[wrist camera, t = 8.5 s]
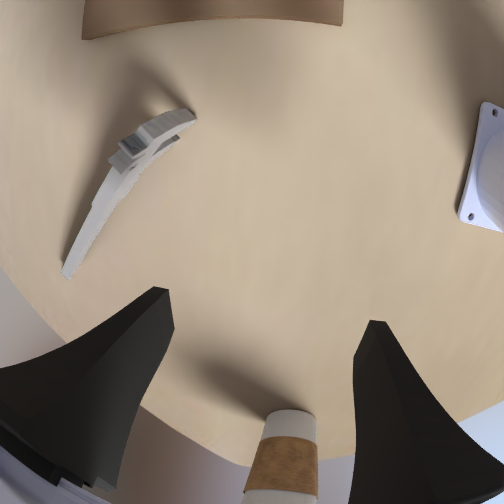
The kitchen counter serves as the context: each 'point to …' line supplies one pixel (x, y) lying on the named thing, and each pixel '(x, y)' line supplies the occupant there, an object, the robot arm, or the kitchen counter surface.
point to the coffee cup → (285, 461)
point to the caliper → (126, 175)
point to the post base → (200, 12)
